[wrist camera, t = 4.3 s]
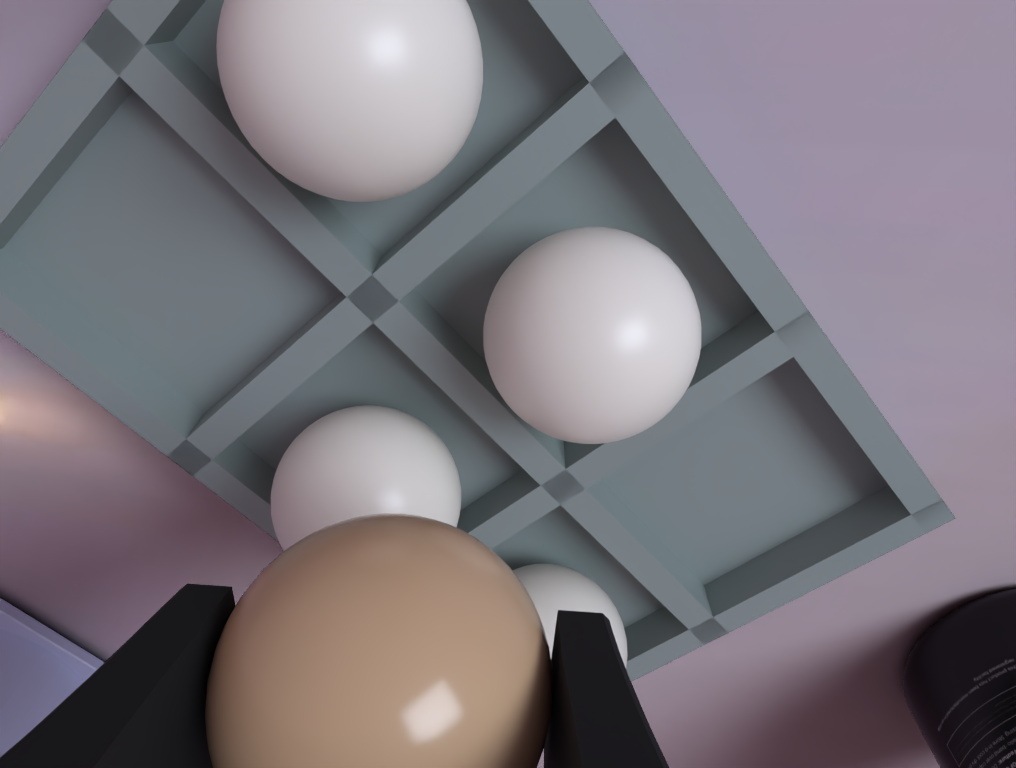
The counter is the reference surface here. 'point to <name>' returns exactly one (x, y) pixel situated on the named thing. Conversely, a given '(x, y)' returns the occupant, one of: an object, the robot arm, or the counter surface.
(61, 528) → the counter surface
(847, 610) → the counter surface
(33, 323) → the egg carton
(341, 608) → the brown egg
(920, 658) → the supplement bottle
